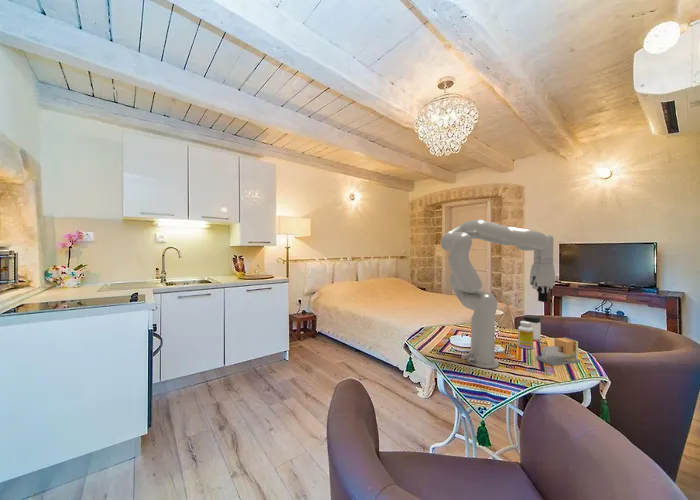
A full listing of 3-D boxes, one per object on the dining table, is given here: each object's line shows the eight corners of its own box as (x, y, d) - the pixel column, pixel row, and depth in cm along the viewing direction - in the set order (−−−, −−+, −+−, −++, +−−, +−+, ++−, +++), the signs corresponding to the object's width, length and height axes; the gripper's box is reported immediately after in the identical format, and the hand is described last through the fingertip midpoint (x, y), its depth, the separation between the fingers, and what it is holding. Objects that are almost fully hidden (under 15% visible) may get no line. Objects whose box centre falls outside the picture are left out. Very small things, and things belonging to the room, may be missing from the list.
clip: (566, 354, 126) (566, 342, 126) (554, 350, 131) (554, 338, 131) (572, 353, 127) (573, 341, 127) (561, 349, 132) (561, 337, 132)
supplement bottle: (535, 349, 142) (535, 324, 142) (520, 348, 143) (521, 323, 143) (529, 345, 148) (530, 320, 148) (516, 344, 150) (516, 320, 150)
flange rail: (551, 365, 122) (552, 345, 122) (535, 358, 130) (535, 339, 130) (580, 362, 126) (580, 342, 126) (562, 355, 134) (562, 336, 134)
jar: (522, 334, 168) (522, 314, 168) (539, 336, 164) (539, 315, 164) (523, 338, 160) (524, 317, 160) (541, 340, 156) (541, 319, 156)
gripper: (548, 261, 136) (547, 299, 136) (523, 261, 133) (522, 300, 133) (563, 262, 129) (563, 302, 129) (537, 262, 125) (536, 303, 125)
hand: (542, 301), depth 131 cm, fingers closed
